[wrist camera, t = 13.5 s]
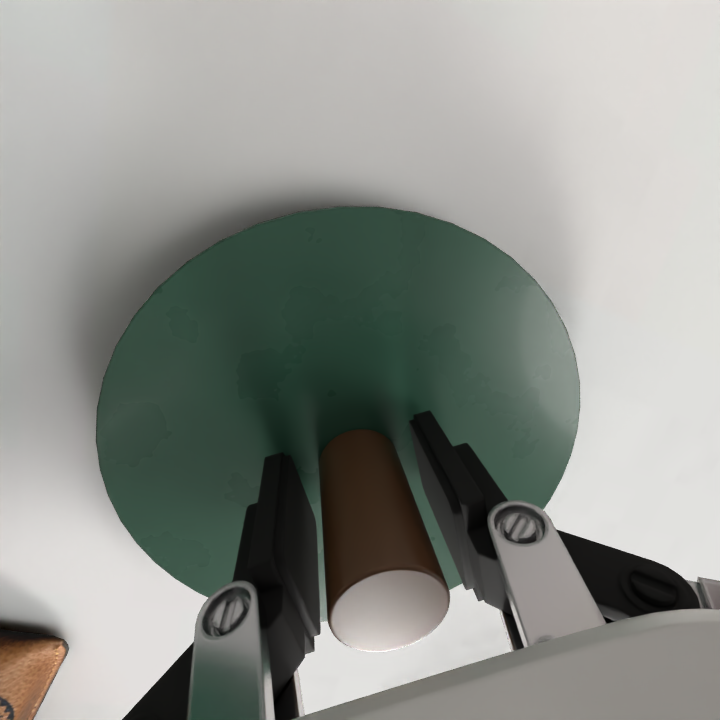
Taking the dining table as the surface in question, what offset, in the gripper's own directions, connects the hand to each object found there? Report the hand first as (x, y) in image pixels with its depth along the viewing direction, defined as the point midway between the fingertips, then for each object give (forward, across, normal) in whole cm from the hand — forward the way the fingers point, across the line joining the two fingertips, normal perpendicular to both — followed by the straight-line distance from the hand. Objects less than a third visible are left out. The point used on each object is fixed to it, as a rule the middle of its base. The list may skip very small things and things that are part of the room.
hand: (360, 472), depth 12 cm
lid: (+1, 0, 0) cm, 1 cm away
